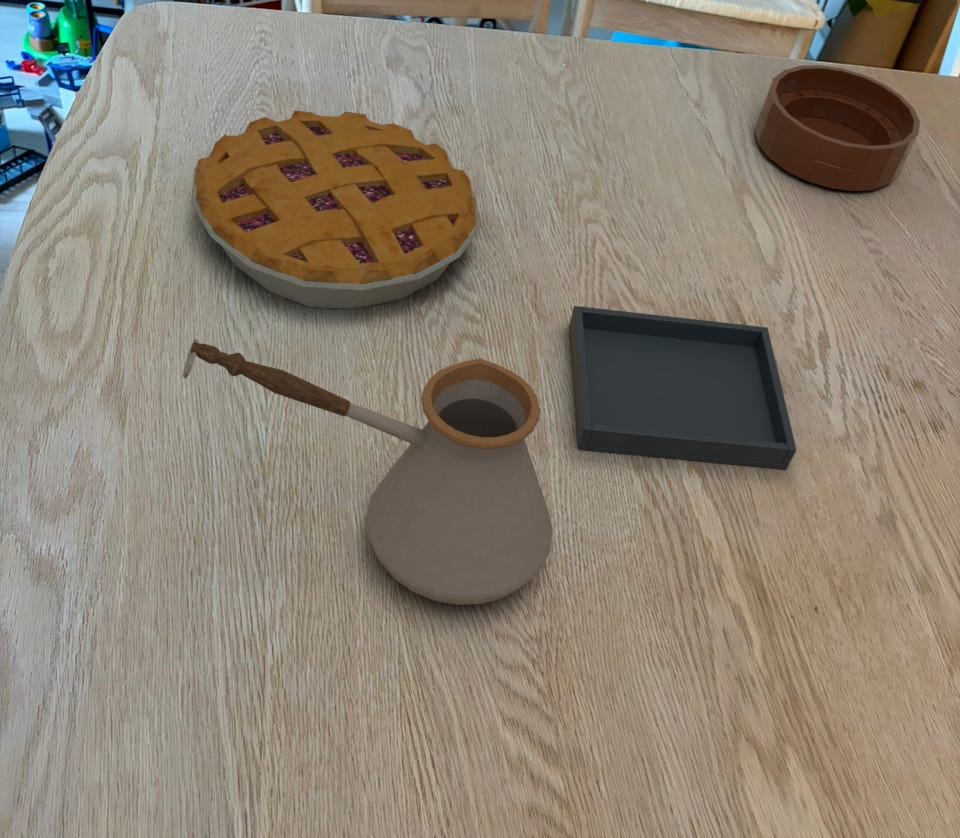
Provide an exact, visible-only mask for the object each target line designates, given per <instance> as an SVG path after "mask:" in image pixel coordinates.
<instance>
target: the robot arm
mask: <svg viewBox="0 0 960 838" xmlns="http://www.w3.org/2000/svg"><path fill="white" fill-rule="evenodd" d="M894 1H900V2H907V3H913V4H914V5H920V4H921V3H922V2H923V1H924V0H894ZM913 4H912V5H913Z"/></svg>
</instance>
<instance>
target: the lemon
mask: <svg viewBox="0 0 960 838" xmlns="http://www.w3.org/2000/svg"><path fill="white" fill-rule="evenodd" d="M865 1H866V3H867V4H868V5H869V6H870V7H871V9H872V11H873V14H874V16H875V17H876V18H878V19H879V18H881V19H882V18H884V17H885V16H888V14H891V13H898V12H901V11H903V10H905V9H908V8H909V7H911V6H913V3H907V2H900V1H894V0H865Z"/></svg>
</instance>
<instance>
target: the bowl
mask: <svg viewBox="0 0 960 838" xmlns="http://www.w3.org/2000/svg"><path fill="white" fill-rule="evenodd" d="M769 85H770V86H769V88H768V91H767V94H766V97H765V100H764V102H763V105H762V107H761V110H760V113H759V116H758V119H757V122H756V125H755V128H754V133H755V138H756V141H757V144H758V146H759V147H760V149H761V150H762V151H763V152H764V154H765V155H766V156H767V158H769V159H770V160H771V161H773V162H774V163H775V164H776V165H778V166H779V167H780V168H781V169H782V170H785V171H786V172H788V173H790V174H792V175H793V176H796V177H798V178H800V179H802V180H804V181H805V182H809V183H811V184H816V185H819V186H823V187H825V188H829V189H836V190H844V191H851V192H861V191H873V190H877V189H879V188H882V187H885V186H888V185H891V183H892V182H893V181H894V180H895V179H896V178H897V177H898V176H899V175H900V173H901V171H902V169H903V166H904V165H905V162H906V160H907V158H908V156H909V154H910V153H911V150H912V148H913V146H914V144H915V142H916V140H917V138H918V136H919V134H920V133H919V132H920V127H921V120H920V118H919V116H918V114H917V111H916V109H915V108H914V106H912V105H911V103H910V102H908V100H907V99H906V98H905V97H904V96H902V94H900V93H898V92H897V91H896V90H894V89H893V88H891V87H890V86H888V85H886V83H883V82H881V81H879V80H877V79H875V78H872V77H870V76H868V75H866V74H864V73H860V72H856V71H853V70H849V69H846V68H842V67H837V66H828V65H822V64H811V65H809V64H807V65H806V64H805V65H797V66H794V67H793V66H792V67H791V68H787V69H783V70H782V71H780V73H778V74H777V75H775V76H774V77H773V78H772V80H771V81H770V84H769Z"/></svg>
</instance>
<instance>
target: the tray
mask: <svg viewBox="0 0 960 838" xmlns="http://www.w3.org/2000/svg"><path fill="white" fill-rule="evenodd" d="M568 332H569V334H568V335H569V344H570V359H571V361H570V362H571V372H572V373H571V374H572V387H573V388H572V389H573V401H574V402H573V403H574V412H575V413H574V417H575V428H576V429H575V430H576V443H577V450H580V451H589V452H590V451H592V452H602V453H611V454H621V455H630V456H631V455H633V456H641V457H650V458H651V457H652V458H661V459H672V460H673V459H674V460H683V461H694V462H702V463H714V464H725V465H734V466H745V467H754V468H755V467H756V468H765V469H776V470H784V471H785V470H787V469H788V468H789V465H790V464H791V462H792V460H793V457H794V456H795V454H796V452H797V445H796V442H795V437H794V432H793V429H792V425H791V420H790V417H789V413H788V408H787V403H786V399H785V395H784V391H783V386H782V383H781V378H780V374H779V370H778V366H777V361H776V358H775V353H774V349H773V345H772V341H771V336H770V332H769V328H768V327H766V326H758V325H749V324H742V323H741V324H740V323H731V322H722V321H715V320H705V319H696V318H688V317H687V318H686V317H678V316H670V315H669V316H668V315H660V314H650V313H642V312H641V313H640V312H634V311H633V312H632V311H624V310H615V309H607V308H598V307H588V306H580V305H574V306H573V309H572V313H571V317H570V321H569V326H568Z"/></svg>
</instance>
